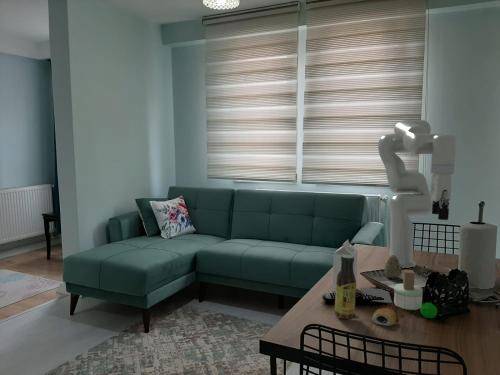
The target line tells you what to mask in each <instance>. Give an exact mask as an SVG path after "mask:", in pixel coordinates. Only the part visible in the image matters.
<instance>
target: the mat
mask: <svg viewBox="0 0 500 375" xmlns="http://www.w3.org/2000/svg"><path fill="white" fill-rule="evenodd" d="M359 288H360V295H361V294H367V295H372V296H376V297H382V298H384V300H372V301H371V303H373V302H374V303H386V304H387V303H388V304H393V301H392V297H391V295H390V291H389V290H388V291H389V292H388V291H385V290H383V289H384V288H370V287H368V288H367V287H359Z"/></svg>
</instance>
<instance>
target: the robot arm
mask: <svg viewBox="0 0 500 375" xmlns="http://www.w3.org/2000/svg"><path fill="white" fill-rule="evenodd" d="M431 130H432V127H431V125H430V123H429V121H426V120H425V119H424V120H423V119H404V120H401V121H398V122H396V124H395V126H394V128H393V132H394V133H389V134H384V135H382V136H381V137H380V138H379V140H378V145H377V146H378V148H377V149H378V154H379V157H380V159H381V161H382V164H383V166H384V168H385V173H386V177H387V179H386V180H387V183H388V188H389V189H390V192H392V193H393V194H395V195H393V196H392V197H390V200H389V203H388V204H389V211H390V212H389V213H390V238H389V239H390V240H389V245H390V246H389V257H390V256H392V255H394V256H396V257H397V259H398V261H399V264H400V266H402V267H414V268H415V267H416V266H417V263H416V261H415V260H413V251H414V236H415V235H414V233H415V232H414V230H415V228H414V224H413V222H412V221H411V219H410V217H416V216H417V217H419V216H421V217H423V216H428V215H429V214H432V215H438V216H437V219H438V220H439V221H448V220H449V216H450V215H449V213H450V212H449V211H450V202H451V197H452V194H451V193H452V175H455V166H456V153H457V152H456V150H457V137H456V135H455V134H446V133H431ZM396 153H400V154H401V153H412V154H414V155H431V164H430V174H431V184H430V189H429V186H428V181H427V179H426V176H425V175H424V174H423V173H421V172H416V171H413V172H412V171H407V169H406V164H405V162H404V161H403V159H402V158H401V157H400V156H399V155H398V154H396ZM387 260H388V258H386V260H385V263H386V262H387Z"/></svg>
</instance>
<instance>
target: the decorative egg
mask: <svg viewBox="0 0 500 375" xmlns="http://www.w3.org/2000/svg"><path fill="white" fill-rule="evenodd" d="M387 259H388V260H387V262H386V261H385V265H384V274H385V276H386V278H387V277H389V278H392V279H391V280H393V279H394V280H397V279H398V278H399V277H400V275H401V268H400V264H399V261H398V259H397V257H396V256H394V255H392V256H390V255H389V257H388V258H387ZM389 278H388V279H389ZM396 278H397V279H396Z"/></svg>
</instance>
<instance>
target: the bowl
mask: <svg viewBox="0 0 500 375" xmlns="http://www.w3.org/2000/svg"><path fill="white" fill-rule="evenodd" d="M393 302H394V306H396V307H398V308H401V309H404V310H409V311H416V310H418V309H419V310H420V308H421V306H422V304H423V294H422V295H421V296H419V297H407V296H402V295H399V294H397V293H396V292H395V291H394V296H393Z"/></svg>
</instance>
